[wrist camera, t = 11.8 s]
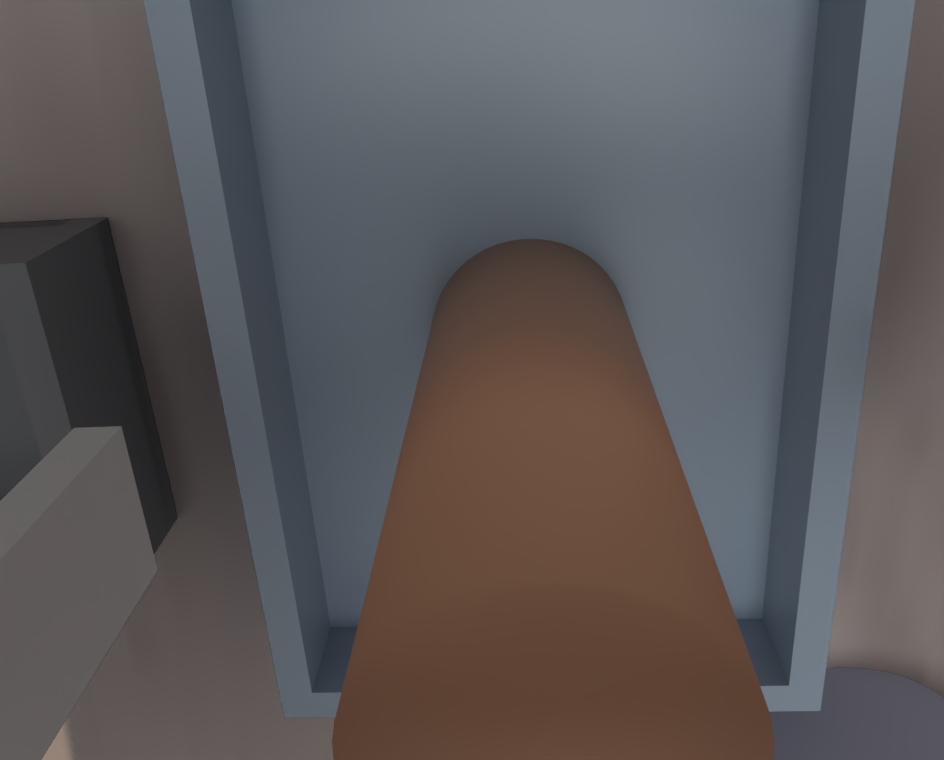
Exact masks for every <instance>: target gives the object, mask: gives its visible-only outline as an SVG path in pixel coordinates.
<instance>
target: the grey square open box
mask: <svg viewBox="0 0 944 760" xmlns="http://www.w3.org/2000/svg"><path fill="white" fill-rule="evenodd" d="M112 426H121V427H122V431H123V435H124V439H125V443H126V447H127V451H128V455H129V458H130V462H131V466H132V470H133V474H134V478H135V482H136V486H137V490H138V494H139V498H140V502H141V506H142V510H143V514H144V518H145V522H146V526H147V530H148V534H149V538H150V542H151V546H152V550H153V554H155V552H156V550H157V549H158V547H159V546H160V544H161V543H162V541H163V539H164V538H165V536H166V535H167V533H168V532H169V530H170V529H171V527H172V525H173V524H174V522H175V521H176V519H177V515H176V510H175V506H174V502H173V498H172V493H171V489H170V485H169V481H168V476H167V472H166V468H165V463H164V459H163V455H162V451H161V446H160V442H159V438H158V433H157V429H156V425H155V421H154V416H153V412H152V408H151V404H150V399H149V395H148V391H147V386H146V382H145V378H144V374H143V369H142V365H141V361H140V356H139V352H138V348H137V344H136V339H135V335H134V331H133V327H132V322H131V318H130V314H129V309H128V305H127V301H126V297H125V292H124V288H123V284H122V279H121V275H120V271H119V267H118V262H117V258H116V254H115V250H114V245H113V241H112V237H111V232H110V228H109V224H108V220H107V218H91V219H72V220H53V221H33V222H14V223H0V501H1V500H2V499H3V498H4V497H5V496H6V495H7V494H8V493H9V492H10V491H11V490H12V489H13V488H14V487H15V486H16V485H17V484H18V483H19V482H20V481H21V480H22V479H23V478H24V477H25V476H26V475H27V474H28V473H29V472H30V471H31V470H32V469H33V468H34V467H35V466H36V465H37V464H38V463H39V462H40V461H41V460H42V459H43V458H44V457H45V456H46V455H47V454H48V453H49V452H50V451H51V450H52V449H53V448H54V447H55V446H56V445H57V444H58V443H59V442H60V441H61V440H62V439H63V438H64V437H65V436H66V435H68V434H69V433H70V432H71V431H72V430H73V429H74V428H84V427H112Z"/></svg>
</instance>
